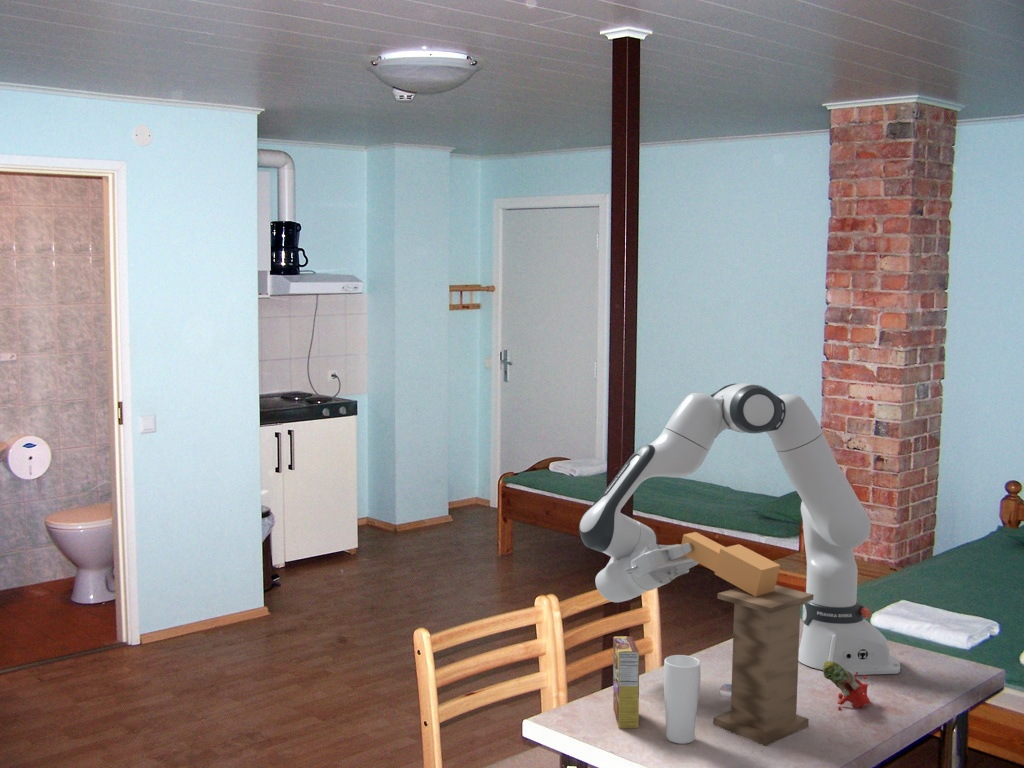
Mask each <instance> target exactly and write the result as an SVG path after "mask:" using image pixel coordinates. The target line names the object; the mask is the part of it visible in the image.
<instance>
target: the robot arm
mask: <svg viewBox="0 0 1024 768" xmlns="http://www.w3.org/2000/svg"><path fill="white" fill-rule="evenodd" d="M726 429H727V430H732V431H733V432H734V431H735V432H737V433H742V434H743V433H747V434H762V433H766V434H767V435H768V436H769V438H770V439H771V442H772V444H773V447H774V449H775V451H776V453H777V455H778V457H779V460H780V463H781V464H782V466H783V469H784V471H785V473H786V475H787V478H788V479H789V482H790V483H791V484H792V486H793V488H794V489H795V491H796V493H797V495H799V498H800V500H801V503H800V513H801V518H802V529H803V541H804V548H805V556H806V582H805V586H806V587H805V588H806V589H805V593H809V594H813V595H814V597H813V600H811V601H808V602H805V603H802V623H803V626H802V633H801V639H800V642H799V656H798V662H799V663H801V664H803V665H805V666H808V667H810V668H813V669H816V670H820V671H823V666H824V663H825V662H827V661H830V662H835V663H837V664H839V665H840V666H841V667H842V668H843V669H844V670H847V671H849V672H850V673H851V674H852V675H855V674H856V672H858V674H857V675H856V676H858V675H861V676H864V675H865V676H868V675H896V674H899V673H900V672H901V664H900V662H899V660H898V659H897V658H896V656H894V655H892V654H891V651H890V645H889V642H888V640H887V638H886V636H885V635H884V633H882V632H881V631H880V630H878V628H876V627H875V626H874V625H872V624H871V623H870V622H869V621H867V620H866V619H869V618H870V617H871V616H872V611H871V610H870V609H869V608H868V607H865V605H863V604H862V603H860V602H859V601H858V600H857V599H858V598H857V596H858V595H857V594H858V574H859V573H858V572H859V571H858V565H857V562H856V559H855V552H854V549H855V548H858V547H860V546H862V545H863V544H864V543H865V542H866V541H867V539H868V538H869V537H870V535H871V530H872V524H871V523H872V522H871V519H870V517H869V515H868V513H867V512H866V511H865V508H864V506H863V505H862V503H861V501H860V499H859V498H858V496H857V494H856V493H855V490H854V488H853V487H852V485H851V484H850V482H849V480H848V479H847V477H846V476H845V474H844V472H843V471H842V469H841V468H840V466H839V464H838V461H837V460H836V458H835V456H834V453H833V452H832V451H833V450H832V449H831V447H830V445H829V443H828V440H827V438H826V436H825V434H824V432H823V429H822V428H821V425H820V423H819V422H818V420H817V418H816V416H815V415H814V413H813V411H812V410H811V408H810V407H809V406H808V404H807V402H805V400H804V399H803V397H801V396H800V395H798V394H794V393H784V394H780V395H776V394H775V393H773V392H772V391H771V390H769V389H768V388H766V387H765V386H762V385H760V384H759V385H758V384H753V383H748V382H741V383H730V384H728V385H725V386H722V387H721V388H720V389H718V390H717V391H715V392H714V393H712V394H710V395H709V394H707V393H703V392H692V393H690V394H688V395H687V396H685V398H684V399H683V400H682V402H681V403H679V405H678V406H677V407H676V409H675V411H674V412H673V414H671V416H670V418H669V420H668V421H667V423H666V425H665V426H664V428H663V430H662V432H661V433H660V434H659V435H658V437H657V438H656V439H655V440H653V441H652V442H650V443H649V444H644V445H642V446H641V445H640V447H639V448H637V449H636V450H635V452H634V453H632V455H631V456H630V457H629V459H628V460H627V461H626V462H625V463H624V465H623V466H622V467H621V469H619V471H618V473H617V474H616V475H615V477H614V478H613V479H612V481H611V482H610V483H609V485H608V486H607V487H606V488H605V490H604V491H603V493H602V494H601V495H600V497H599V498H598V499H597V500H596V501H595V502H594V503H593V504H592V505H591V506H590V507H589V508H587V509H586V511H585V512H584V513H583V514H582V516H581V518H580V521H579V523H578V525H579V526H578V530H579V534H580V538H581V541H582V543H583V545H584V546H585V547H586V548H588V549H591V550H594V551H596V552H599V553H603V554H605V555H607V556H608V557H610V559H609V561H608V562H607V564H606V566H605V567H604V568H602V569H601V570H600V571H599V572H598V573H597V574H596V576H595V587H596V589H597V591H598V592H599V594H600V595H601V596H602V597H603V598H604V599H606V600H607V601H609V602H612V603H623V602H626V601H630V600H632V599H634V598H637V597H639V596H642V595H644V593H645V592H649V591H653V590H656V589H658V588H660V587H661V586H664V585H667V584H669V583H671V581H673V580H674V579H675V580H676V578H677V577H680V576H681V577H682V576H684V575H686V574H688V573H689V572H690V569H691V568H694V567H695V566H697V565H699V564H700V563H698V562H696V561H694V560H692V559H690V558H689V557H687V556H685V554H688V553H690V552H692V551H694V547H693V544H692V543H687V544H684V545H682V546H681V544H679V543H678V544H677V543H676V544H667V545H666V544H658V537H657V535H656V532H655V531H654V529H653V528H651V527H649V526H648V525H647V524H644V523H642V522H640V521H638V520H636V519H634V518H632V517H630V516H628V515H625V514H623V513H622V512H621V510H622V508H623V507H624V506H625V505H626V503H627V502H628V500H629V499H630V498H631V497H632V495H633V494H634V493H635V492H636V490H637V489H638V487H639V486H640V485H641V483H643V482H644V481H646V480H647V479H650V478H655V477H656V478H657V477H664V478H684V477H687V476H689V475H692V474H693V473H696V471H698V469H699V468H700V467H701V466H702V464H703V463H704V461H705V459H706V458H707V456H708V453H709V451H710V450H711V448H712V445H713V444H714V441H715V440H716V439H717V437H718V436H719V435H720V434H721V433H722V432H723V431H725V430H726Z"/></svg>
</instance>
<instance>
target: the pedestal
mask: <svg viewBox="0 0 1024 768" xmlns="http://www.w3.org/2000/svg"><path fill="white" fill-rule="evenodd" d="M813 597H814V595H813V594H809V593H806V591H801V590H797V589H793V588H790V587H785V586H782V585H779V584H776V585H775V589H774V591H773V592H769V593H766V594H762V595H759V596H756V597H755V596H753V595H752V594H750V593H748V592H746V591H744V590H743V589H741V588H739V587H735V588H732V589H731V588H730V589H728V590H725V591H721V592H718V593H717V597H716V599H718V600H722V601H724V602H725V601H726V602H729V603H732V604H733V629H732V632H733V633H732V634H733V635H732V638H733V639H732V661H731V663H732V664H731V668H732V669H731V689H730V690H731V693H730V694H731V695H730V710H729V711H726V712H723V713H721V714H719V715H717V716H715V717H713V722H712V723H713V726H714V725H715V727H717V726H718V727H717V728H719V727H720V728H719V729H722V728H723V729H722V730H724V729H725V730H724V731H727V732H729V731H730V733H733V734H734V733H735V735H737V736H739V735H740V736H739V737H742V738H744V739H746V740H749V741H751V742H755V743H757V744H759V745H762V746H765V747H767V746H769V745H771V744H773V743H776V742H778V741H779V740H782V739H785V738H787V737H789V736H790V735H793V734H795V733H798V732H799V731H801V730H804V729H806V728H808V727H809V723H810V722H809V721H810V719H809V718H807V717H805V716H802V715H799V714H797V707H798V706H797V704H798V682H799V678H798V677H799V661H798V656H799V646H800V629H801V628H800V626H801V625H800V622H801V605H803V604H804V603H805V602H808V601H811V600H813Z"/></svg>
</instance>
